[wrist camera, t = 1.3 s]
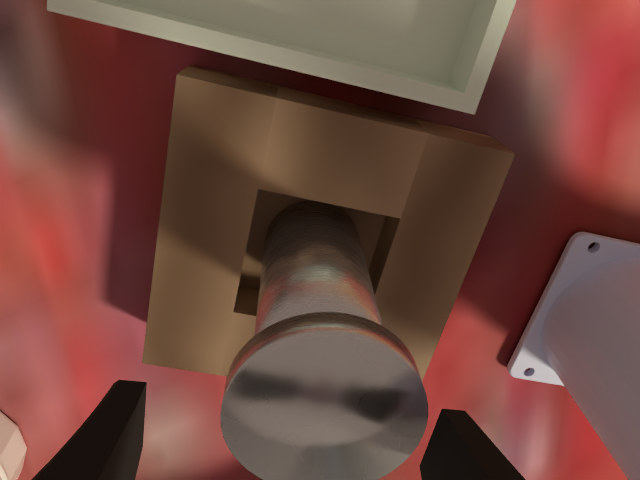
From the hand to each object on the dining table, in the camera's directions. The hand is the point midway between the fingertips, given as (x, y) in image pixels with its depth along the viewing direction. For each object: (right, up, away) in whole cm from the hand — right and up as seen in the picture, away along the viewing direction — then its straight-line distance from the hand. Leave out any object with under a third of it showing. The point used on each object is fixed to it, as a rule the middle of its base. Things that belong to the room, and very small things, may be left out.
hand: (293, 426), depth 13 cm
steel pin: (0, +4, +9) cm, 10 cm away
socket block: (0, +5, +10) cm, 11 cm away
